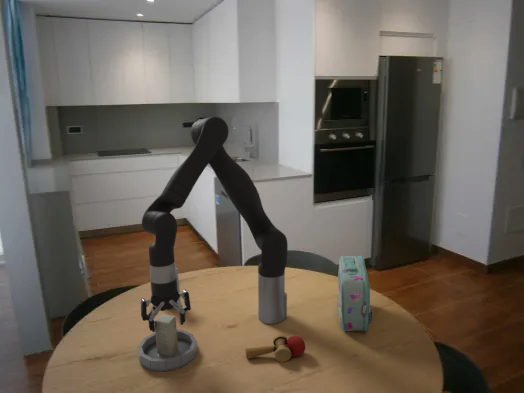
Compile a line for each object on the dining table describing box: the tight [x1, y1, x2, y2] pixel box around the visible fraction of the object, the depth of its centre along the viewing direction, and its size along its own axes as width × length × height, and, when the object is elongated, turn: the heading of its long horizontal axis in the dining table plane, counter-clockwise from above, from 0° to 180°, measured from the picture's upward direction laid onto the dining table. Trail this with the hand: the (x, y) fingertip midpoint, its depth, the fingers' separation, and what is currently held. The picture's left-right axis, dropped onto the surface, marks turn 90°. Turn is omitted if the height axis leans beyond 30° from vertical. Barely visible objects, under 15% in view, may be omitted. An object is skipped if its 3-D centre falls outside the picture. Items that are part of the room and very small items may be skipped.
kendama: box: [244, 334, 306, 362], centre depth 124 cm, size 8×6×18 cm
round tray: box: [137, 329, 198, 372], centre depth 126 cm, size 17×17×3 cm
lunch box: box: [336, 255, 373, 332], centre depth 144 cm, size 27×10×21 cm, turn 173°
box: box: [154, 314, 178, 356], centre depth 125 cm, size 5×4×11 cm
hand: (167, 327), depth 124 cm, fingers open, 8 cm apart
